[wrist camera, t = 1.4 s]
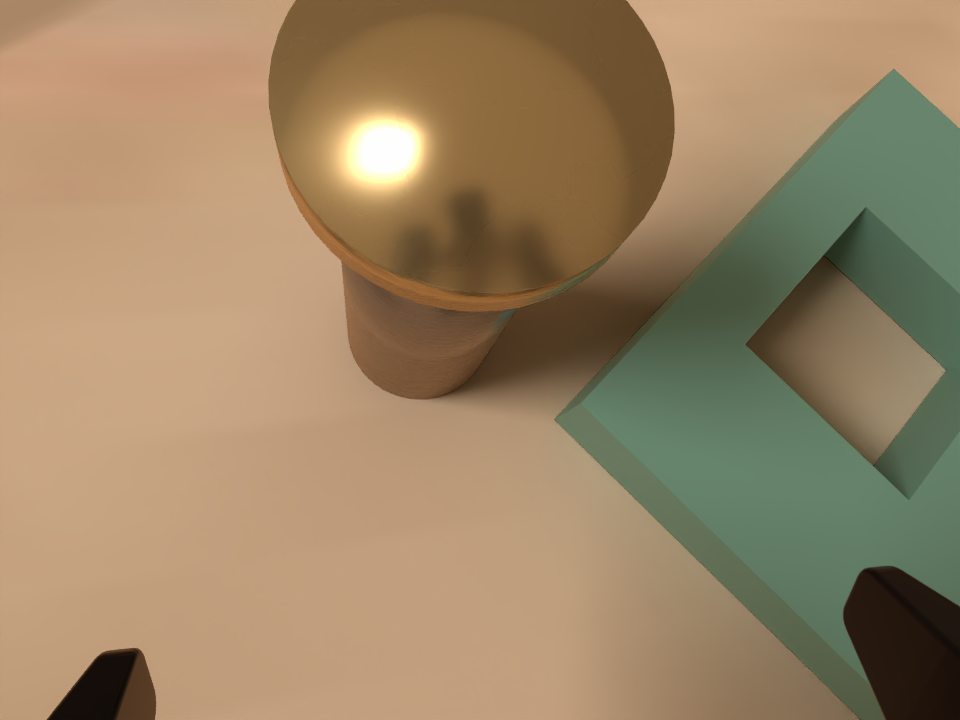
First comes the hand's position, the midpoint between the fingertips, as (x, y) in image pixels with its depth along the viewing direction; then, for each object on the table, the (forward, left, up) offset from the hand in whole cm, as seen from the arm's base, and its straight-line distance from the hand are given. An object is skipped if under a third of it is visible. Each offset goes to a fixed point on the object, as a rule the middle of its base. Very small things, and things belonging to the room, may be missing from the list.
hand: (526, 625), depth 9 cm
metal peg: (+6, -5, -13) cm, 15 cm away
